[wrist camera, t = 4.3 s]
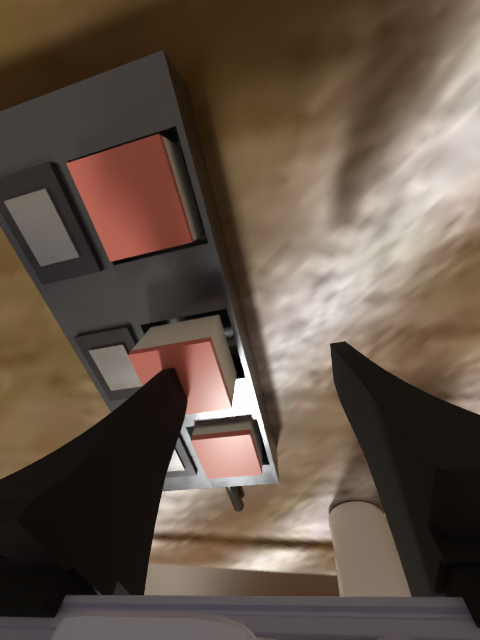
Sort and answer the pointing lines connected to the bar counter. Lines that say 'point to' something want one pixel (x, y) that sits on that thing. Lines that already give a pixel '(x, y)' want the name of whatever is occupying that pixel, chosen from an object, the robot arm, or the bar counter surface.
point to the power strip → (133, 272)
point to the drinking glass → (365, 552)
